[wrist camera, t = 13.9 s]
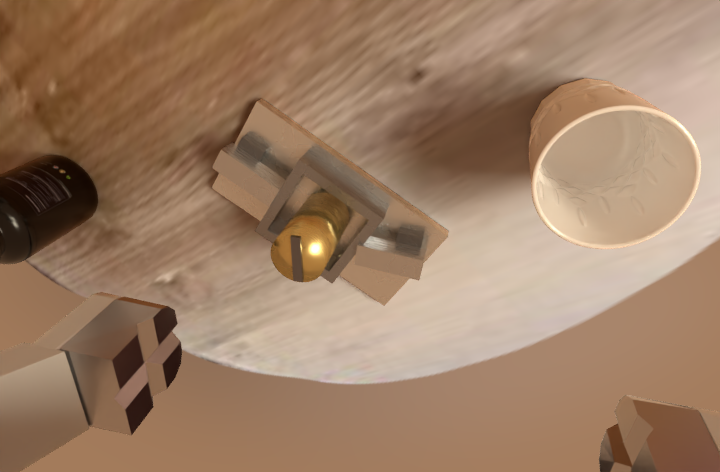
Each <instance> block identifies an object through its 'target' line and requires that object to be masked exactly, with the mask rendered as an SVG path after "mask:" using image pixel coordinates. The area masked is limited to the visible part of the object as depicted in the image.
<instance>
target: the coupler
mask: <svg viewBox="0 0 720 472" xmlns="http://www.w3.org/2000/svg"><path fill="white" fill-rule="evenodd" d="M348 223H349V212H348V209H347V207H346V205H345V204H344V203H343V202H342V201H340V200H339V199H338V198H336V197H335V196H333V195H332V194H330V193H324V192H321V193H316V194H313V195H311V196H310V197H309V198H308V199H307V200H306V201H305V202H304V204H303V205H302V206H301V207H300V209H299V210H298V211H297V213H296V214H295V215H294V216H293V218H292V219H291V220H290V222H289V223H288V224H287V226H286V227H285V228H284V229H283V231H282V232H281V233H280V235H279V236H278V237H277V238H276V240H275V241H274V243H273V244H272V247H271V258H272V261H273V264H274V266H275V267H276V268H277V270H278V271H279V272H280V273H281V274H282V275H284V276H285V277H287V278H289V279H291V280H293V281H297V282H309V281H313V280H315V279H316V278H318V277H319V276H320V275H321V274H322V272H323V271H324V269H325V267H326V265H327V263H328V261H329V259H330V258H331V256H332V254H333V252H334V250H335V248H336V246H337V244H338V243H339V241H340V239H341V237H342V235H343V233H344V231H345V230H346V228H347V226H348Z"/></svg>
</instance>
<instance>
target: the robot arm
mask: <svg viewBox="0 0 720 472" xmlns="http://www.w3.org/2000/svg"><path fill="white" fill-rule="evenodd" d="M177 324H178V323H177V319H176V314H175V310H174V309H172V308H170V307H169V306H164V305H160V304H155V303H151V302H146V301H142V300H137V299H132V298H128V297H120V296H116V295H112V294H107V293H103V292H100V293H96V294H92V295H91V296H90V297H89V298H87V299H86V300H85V301H84V302H83V303H81V304H80V305H79V306H78V307H76V308H75V309H74V310H73V311H72V312H70V313H69V314H68V315H67V316H65V317H64V318H63V319H62V320H61V321H59V322H58V323H57V324H56V325H55V326H53V327H52V328H51V329H50V330H48V331H47V332H46V333H45V334H43V335H42V336H41V337H40V338H39V339H37V340H36V341H35V342H34V343H32V344H28V343H22V344H19V345H17V346H14V347H11V348H8V349H6V350H3V351H0V472H20V471H22V470H23V469H25V468H27V467H28V466H30V465H31V464H33V463H35V462H36V461H38V460H40V459H41V458H43V457H45V456H46V455H48V454H49V453H51V452H53V451H54V450H56V449H57V448H59V447H61V446H62V445H64V444H66V443H67V442H69V441H70V440H72V439H74V438H75V437H77V436H78V435H80V434H82V433H83V432H85V431H87V430H88V429H89V426H90V427H95V428H100V429H104V430H109V431H114V432H119V433H123V434H128V435H132V434H133V433H134V432H135V430H136V429H137V428H138V426H139V425H140V424H141V422H142V421H143V420H144V419H145V417H146V416H147V415H148V413H149V412H150V411H151V409H152V408H153V396H154V395H156V394H158V393H160V392H162V391H164V390H166V389H167V388H168V387H169V386H170V384H171V383H172V381H173V380H174V379H175V377H176V374H177V372H178V369H179V367H180V364H181V357H182V348H181V342H180V340H179V339H178V338H177V337H176V336H175V334H174V333H173V332H172V330H173V329H174V328H175V326H176V325H177ZM615 414H616V418H617V421H618V424H616V425H614V426H612V427H610V428H608V429H607V430H606V433H605V435H604V438H603V440H602V443H601V449H600V457H599V464H600V472H720V412H718V411H712V410H707V409H701V408H696V407H691V408H690V407H688V406H682V405H677V404H672V403H666V402H661V401H656V400H650V399H644V398H639V397H634V396H629V395H625V396H623V397H622V398H621V399H620V400H619V403H618V405H617V407H616V409H615Z"/></svg>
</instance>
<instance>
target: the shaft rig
mask: <svg viewBox="0 0 720 472" xmlns="http://www.w3.org/2000/svg"><path fill="white" fill-rule="evenodd" d="M212 168H213V169H214V170H216V171H217V172H219V175H218V177H217V178H216V180H215V182H214V184H213V186H212V189H214V190H215V191H217V192H218V193H220V194H221V195H222V196H224V197H225V198H227V199H228V200H230V201H231V202H233V203H234V204H236V205H237V206H239V207H240V208H242V209H243V210H244V211H246V212H247V213H249V214H250V215H252V216H253V217H255V218H256V219H258V220H259V221H260V223H259V225H258V226H257V228H256V229H255V232H257V233H258V234H260V235H261V236H263V237H264V238H266V239H267V240H269V241H270V242H272V243H274V241H275V240H276V238H277V237H278V236H279V235H280V233H281V232H282V231H283V229H284V228H285V227H286V226H287V224H288V223H289V222H290V220H291V219H292V218H293V216H294V215H295V214H296V213H297V211H298V210H299V209H300V207H301V206H302V205H303V204H304V202H305V201H306V200H307V199H308V198H309V197H310V196H311V195H313V194H316V193H321V192H324V193H330V194H332V195H333V196H335V197H336V198H338V199H339V200H340V201H342V202H343V203H344V204H345V205H346V207H347V209H348V212H349V223H348V226H347V228H346V230H345V231H344V233H343V235H342V237H341V239H340V241H339V243H338V244H337V246H336V248H335V250H334V252H333V254H332V256H331V258H330V259H329V261H328V263H327V265H326V267H325V269H324V271H323V272H322V274H321V275H320V276H322V277H323V278H325V279H326V280H328V281H329V282H331V283H333V282H334V281H335V279H336V278H337V277H338V276H339V275H340V276H341V277H343V278H344V279H346V280H347V281H349V282H350V283H352V284H353V285H355V286H356V287H358V288H359V289H360V290H362V291H363V292H365V293H366V294H368V295H369V296H371V297H372V298H374V299H375V300H377V301H378V302H380V303H381V304H382V305H385V304H386V303H387V302H388V301H389V300H390V299H391V298H392V297H393V296H394V295H395V294H396V292H397V291H398V290H399V289H400V288H401V287H402V286H403V285H404V284H405V283H406V282H407V280H408V279H409V278H412V279H416V280H419V279H420V275H421V271H422V267H423V263H424V262H425V261H426V260H427V259H428V258H429V257H430V256H431V254H432V253H433V252H434V251H435V250H436V249H437V248H438V247H439V246H440V245H441V244H442V242H443V241H444V240H445V239H446V238H447V237H448V232H449V231H448V230H447V229H445V228H444V227H442V226H441V225H440V224H438V223H437V222H435V221H434V220H432V219H431V218H430V217H428V216H427V215H425V214H424V213H423V212H421V211H420V210H418V209H417V208H416V207H414V206H413V205H411V204H410V203H409V202H407V201H406V200H404V199H403V198H402V197H400V196H399V195H397V194H396V193H395V192H393V191H392V190H390V189H389V188H388V187H386V186H385V185H383V184H382V183H380V182H379V181H378V180H376V179H375V178H373V177H372V176H371V175H369V174H368V173H366V172H365V171H364V170H362V169H361V168H359V167H358V166H357V165H355V164H354V163H352V162H351V161H350V160H348V159H347V158H345V157H344V156H343V155H341V154H340V153H338V152H337V151H336V150H334V149H333V148H331V147H330V146H328V145H327V144H326V143H324V142H323V141H321V140H320V139H319V138H317V137H316V136H314V135H313V134H312V133H310V132H309V131H307V130H306V129H305V128H303V127H302V126H300V125H299V124H298V123H296V122H295V121H293V120H292V119H291V118H289V117H288V116H286V115H285V114H284V113H282V112H281V111H279V110H278V109H276V108H275V107H274V106H272V105H271V104H269V103H268V102H267V101H265V100H264V99H262V98H261V99H260V100H258V101H257V102H256V104H255V106H254V107H253V109H252V111H251V113H250V115H249V117H248V119H247V121H246V123H245V125H244V127H243V129H242V131H241V132H240V134H239V136H238V138H237V140H236V142H235V144H234V143H232V142H231V143H230V144H228V145H227V146H226V147H224V148H223V149H221V151H220V153H219V155H218V157H217V159H216V160H215V162H214V164H213V166H212Z"/></svg>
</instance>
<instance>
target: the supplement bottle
mask: <svg viewBox="0 0 720 472" xmlns="http://www.w3.org/2000/svg"><path fill="white" fill-rule="evenodd" d="M97 205H98V195H97V191H96V188H95V185H94V183H93V181H92V179H91V178H90V176H89V175H88V174H87V173H86V172H85V171H84V170H83V169H82V168H81V167H80V166H79V165H78V164H76V163H75V162H73V161H71V160H69V159H67V158H64V157H61V156H56V155H49V156H44V157H41V158H38V159H36V160H33V161H31V162H29V163H26V164H24V165H22V166H19V167H17V168H15V169H12V170H10V171H8V172H5V173H3V174H1V175H0V264H15V263H19V262H22V261H24V260H26V259H27V258H29V257H31V256H32V255H34V254H35V253H37V252H39V251H40V250H42V249H43V248H45V247H46V246H48V245H49V244H51V243H53V242H54V241H56V240H57V239H59V238H60V237H62V236H64V235H65V234H67V233H68V232H70V231H71V230H73V229H75V228H76V227H78V226H79V225H81V224H82V223H84V222H85V221H87V220H88V219H89V218H91V217H92V216H93V214H94V213H95V211H96V208H97Z"/></svg>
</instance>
